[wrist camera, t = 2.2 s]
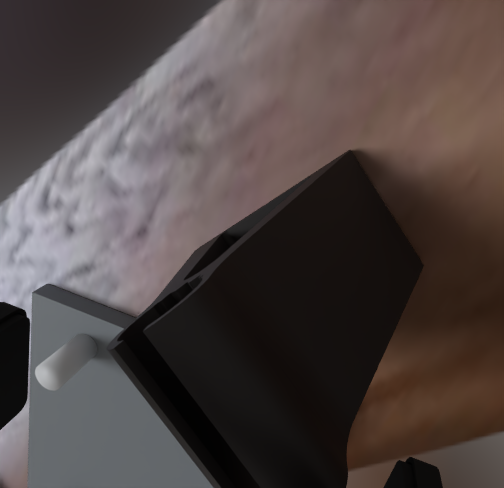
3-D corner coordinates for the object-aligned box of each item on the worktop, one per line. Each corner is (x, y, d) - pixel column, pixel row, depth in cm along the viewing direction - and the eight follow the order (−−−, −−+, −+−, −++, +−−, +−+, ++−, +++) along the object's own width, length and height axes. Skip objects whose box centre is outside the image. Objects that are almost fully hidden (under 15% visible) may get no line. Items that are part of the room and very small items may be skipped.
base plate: (338, 396, 22) (329, 459, 18) (258, 590, 29) (239, 665, 25) (47, 283, 25) (-13, 317, 21) (39, 483, 32) (-7, 535, 28)
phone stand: (351, 148, 18) (308, 235, 7) (423, 263, 18) (486, 505, 8) (197, 247, 21) (10, 405, 11) (262, 339, 22) (149, 576, 11)
